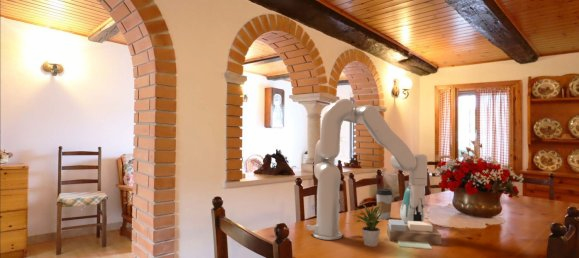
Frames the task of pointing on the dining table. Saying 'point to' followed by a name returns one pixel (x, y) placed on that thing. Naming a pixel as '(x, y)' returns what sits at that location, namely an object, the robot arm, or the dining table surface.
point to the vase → (408, 208)
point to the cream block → (419, 226)
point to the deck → (415, 235)
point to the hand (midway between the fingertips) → (417, 222)
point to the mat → (414, 244)
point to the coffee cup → (384, 202)
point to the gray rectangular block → (397, 225)
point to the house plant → (370, 226)
